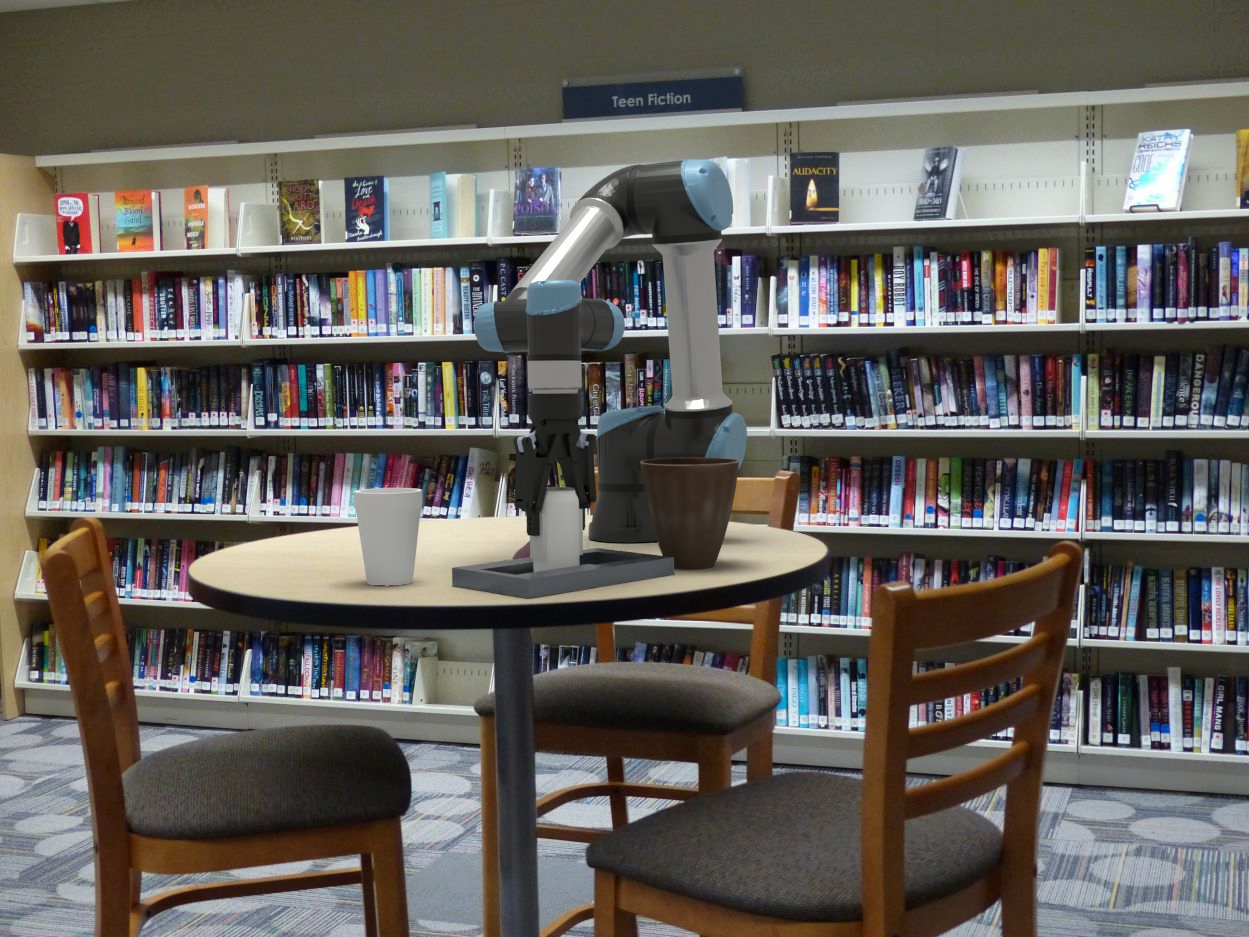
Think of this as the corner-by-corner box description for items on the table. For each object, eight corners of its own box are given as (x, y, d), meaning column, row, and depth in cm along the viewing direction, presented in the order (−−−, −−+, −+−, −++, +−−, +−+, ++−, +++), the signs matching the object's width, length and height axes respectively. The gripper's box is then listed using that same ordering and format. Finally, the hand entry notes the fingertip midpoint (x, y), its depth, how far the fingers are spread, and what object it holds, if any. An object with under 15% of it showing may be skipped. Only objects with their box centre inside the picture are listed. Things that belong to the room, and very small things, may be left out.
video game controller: (535, 577, 200) (554, 536, 199) (508, 563, 201) (528, 523, 200) (550, 568, 210) (569, 529, 209) (525, 555, 210) (543, 516, 209)
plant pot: (735, 574, 191) (734, 464, 190) (633, 572, 194) (632, 463, 193) (743, 559, 206) (743, 457, 205) (648, 558, 209) (648, 457, 207)
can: (586, 575, 184) (585, 489, 183) (541, 578, 181) (540, 491, 181) (570, 569, 190) (569, 486, 189) (527, 571, 187) (526, 487, 187)
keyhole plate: (597, 564, 203) (596, 547, 202) (674, 574, 191) (674, 557, 191) (452, 585, 183) (451, 567, 183) (528, 598, 172) (528, 579, 171)
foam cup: (358, 589, 180) (356, 494, 180) (353, 579, 189) (351, 489, 188) (428, 585, 183) (426, 492, 182) (419, 576, 192) (417, 487, 191)
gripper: (585, 391, 194) (587, 547, 195) (484, 392, 180) (487, 561, 181) (622, 391, 188) (623, 552, 190) (520, 392, 175) (523, 566, 176)
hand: (556, 556), depth 186 cm, fingers closed on can, 6 cm apart
